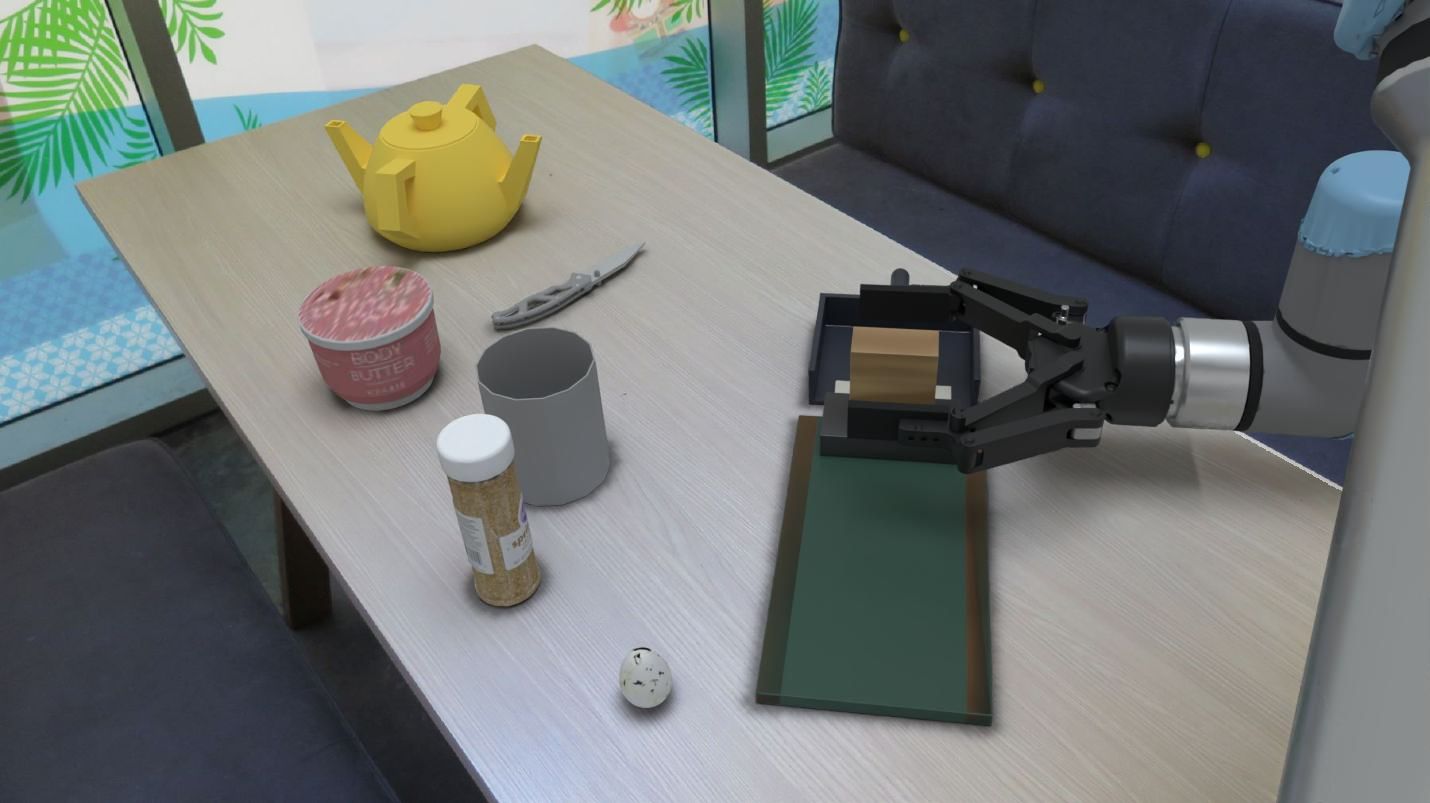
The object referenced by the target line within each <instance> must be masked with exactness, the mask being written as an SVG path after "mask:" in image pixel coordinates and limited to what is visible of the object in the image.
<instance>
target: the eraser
mask: <svg viewBox="0 0 1430 803" xmlns="http://www.w3.org/2000/svg"><path fill="white" fill-rule="evenodd" d="M852 327H853V335H852V344H851V357H850V393H833V392H826V395H825V402H824V405H823V410H822V416H823V417H822V425H821V432H820V455H822V456H837V457H852V458H868V459H883V460H898V461H913V462H928V463H943V464H958V463H957V461H956V459H955V457H954V455H953V454H951V453H950V452H948V450H947V449H942V448H927V447H915V446H914V447H911V446H903V445H900V444H898V441H887V440H871V439H854V438H847V418H848V400H859V401H877V402H894V403H912V404H930V405H948V406H949V414H948V420H950V411H951V409H952V408H953V407H954V408H955V411H956V409H957V410H958V411H959V412H960V400H953V399H936V398H935V393H936V381H937V370H938V358H939V331H935V330H915V329H895V328H875V327H854V326H852ZM954 415H955V412H954Z"/></svg>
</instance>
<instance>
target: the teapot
mask: <svg viewBox="0 0 1430 803" xmlns="http://www.w3.org/2000/svg"><path fill="white" fill-rule="evenodd" d="M323 127H324V129H325V131H326V133H327V135H328V137H329V139H330V140H331V142H332V144H333V146H334V148H335V149H336V151H337V153H338V155H339V156H340V158H341V160H342V162H343V164H344V165H345V168H346V169H347V171H348V172H349V174H350V177H351V178H352V180H353V182H354V183H355V185H356V187H357V189H358V190H359V192H360V194H361V195H362V198H363V208H364V211H365V216H366V219H367V221H368V223H369V225H370V226H371V227H372V228H373V230H374V231H375V232H377V233H378V234H379V235H380V236H382V237H384V238H385V239H387V240H388V241H390V242H392V243H394V244H396V245H397V246H400V247H401V248H405V249H407V250H411V251H417V252H422V253H423V252H425V253H442V252H443V253H444V252H451V251H457V250H458V251H459V250H464V249H466V248H470V247H474V246H477V245H479V244H481V243H484V242H486V241H488V240H490V239H491V238H493V237H495V236H496V235H498V234H499V233H500V232H502V231H503V230H504V229H505V228H506V227H507V226H508V224H509V223H510V222H511V221H512V219H513V218H514V216H515V215H516V213H517V212H518V210H519V209H520V208H521V205H522V202H523V201H524V199H525V197H526V196H527V194H528V191H529V187H530V184H531V180H532V176H533V173H534V170H535V165H536V162H537V158H538V154H539V151H540V147H541V143H542V140H543V136H542V134H541V135H540V134H530V133H529V134H527V133H524V134H523V135H522V137H521V138H520V140H519V145H518V147H517V149H516V152H515V153H514V156H513V154H512V152H511V151H510V149H509V147H508V146H507V145H506V144H505V142H504V141H503V139H501V138H500V136H499V135H498V134H497V133H496V132H495V131H496V127H497V120H496V117H495V115H494V113H493V111H492V108H491V106H490V104H489V101H488V99H487V97H486V94H485V93H484V90H483V87H482V86H481V85H479V84H470V83H469V84H468V83H461V85H460V86H459V87H458V88H457V90H456V91H455V92H454V94H453V95H452V97H451V98H450V99H449V101H448V102H447V103H446V104H442V103H440V102H439V101H433V100H428V101H427V100H426V101H421V102H418V103H415V104H413V105H411V106H410V107H409V109H408V110H406V111H403V112H400V113H399V114H397V115H394V116H393V117H392V118H391V119H389V120H388V121H387V122H386V123H384V125H383V126H382V128H381V129H380V131H379V134H378V135H377V137H376V139H375V142H374V144H373V145H371V143H369V142H368V141H367V140H366V139H365V138H364V137H363V136H362V135H361V134H360V133H359V132H357V131H356V130H355V129H354V128H353V127H352V126H351V125H349V124H348V121H347V120H338V119H337V120H336V119H331V120H329V121H328V122H326V124H324V125H323Z"/></svg>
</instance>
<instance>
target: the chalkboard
mask: <svg viewBox="0 0 1430 803" xmlns="http://www.w3.org/2000/svg"><path fill="white" fill-rule="evenodd" d="M822 417H823V415H821V416H820V415H805V414H799V415H798V418H797V426H796V432H795V438H794V445H793V451H792V458H791V464H790V470H789V477H788V482H787V489H786V496H785V502H784V509H783V514H782V520H781V528H780V534H779V540H778V547H777V553H776V560H775V566H774V572H773V578H772V584H771V585H772V586H771V592H770V597H769V603H768V604H769V605H768V611H767V616H766V617H767V618H766V623H765V629H764V637H763V641H762V642H763V643H762V649H761V656H760V662H759V668H758V674H757V679H756V680H757V681H756V686H755V687H756V688H755V703H757V704H766V705H775V706H785V707H786V706H788V707H795V708H808V709H817V710H827V711H837V712H846V713H857V714H867V715H878V716H888V717H889V716H890V717H899V718H909V719H919V720H931V721H939V722H949V723H960V724H968V725H969V724H970V725H979V726H981V725H982V726H991V725H992V723H993V717H994V714H993V710H994V709H993V680H992V679H993V676H992V674H993V673H992V639H991V638H992V636H991V635H992V634H991V601H990V600H991V599H990V596H991V595H990V562H989V561H990V560H989V559H990V558H989V557H990V556H989V555H990V554H989V525H988V524H989V521H988V520H989V519H988V484H987V483H988V481H987V480H988V479H987V470H984V471H980V472H976V473H973V474H963V473H960V472H959V471H958V469H957V464H943V463H928V462H913V461H898V460H883V459H868V458H852V457H837V456H822V455H820V432H821V425H822ZM980 452H982V450H978V453H980Z"/></svg>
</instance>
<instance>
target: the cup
mask: <svg viewBox="0 0 1430 803" xmlns="http://www.w3.org/2000/svg"><path fill="white" fill-rule="evenodd" d="M592 346H593V345H592V343H591V342H589V341H588V340H587V339H586V338H584V337H583V336H582V335H581V334H579V333H578V332H577V331H573V330H570V329H565V328H560V327H557V326H541V327H526V328H524V329H520V330H517V331H515V332H511V333H508V334H504V335H502V336H501V337H500V338H498V339H497V340H495V341H493V343H491V344H489V345H488V346H486V347H485V348H484V349H483V350H482V352H481V354H480V356H479V357H478V359H477V361H476V363H475V364H474V367H475V374H476V380H477V381H476V382H477V385H478V386H477V387H478V390H479V394H480V398H481V404H482V408H483V413H484V414H489V415H493V416H496V417H498V418H500V419H502V420H503V421H504V422H505V423H506V424H507V425H508V427H509V429H510V432H511V436H512V440H513V445H514V451H515V452H514V458H513V459H514V464H515V469H516V474H517V477H518V482H519V486H520V491H521V493H522V496H523V501H524V504H529V505H532V506H535V507H548V506H549V507H550V506H564V505H567V504H569V503H572V502H575V501H577V500H579V499H582V498H585V497H587V496H588V495H590V494H591V493H592V492H594V490H596V489H597V488H598V487H599V486H600V485H601V484H603V483H604V482H605V479H606V477H607V475H608V471H609V470H610V467H611V463H612V462H611V458H610V457H611V456H610V449H609V442H608V437H607V430H606V423H605V417H604V409H603V402H602V396H601V389H600V383H599V374H598V369H597V361H596V356H595V353H594V350H593V347H592Z"/></svg>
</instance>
